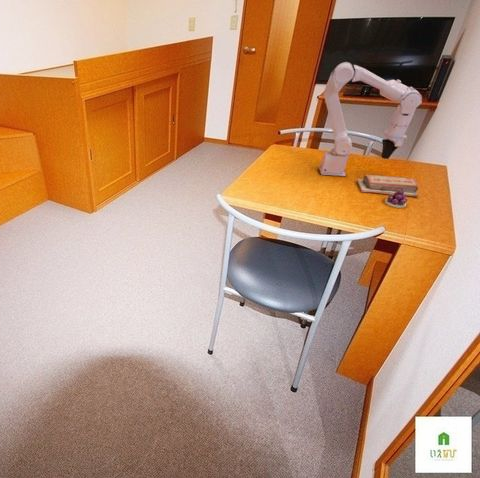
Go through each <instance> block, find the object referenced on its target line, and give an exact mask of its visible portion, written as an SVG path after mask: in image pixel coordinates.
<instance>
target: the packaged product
mask: <svg viewBox="0 0 480 478" xmlns="http://www.w3.org/2000/svg"><path fill="white" fill-rule="evenodd" d="M356 183H357V184H358V187H359V189H360V191H361V193H373V194H383V195H389V196H390V195H394V193H395V192H397V191H399V190H401V189H402V187H404V188H403V191H404V197H415V198H416V197H418V196H419V194H418V190H419V185H418V182H417V181H416V179H415V178H413V177H402V176H389V175H377V174H365V175H364V176H363V178H357V182H356Z"/></svg>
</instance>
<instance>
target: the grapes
mask: <svg viewBox="0 0 480 478" xmlns="http://www.w3.org/2000/svg"><path fill="white" fill-rule="evenodd" d="M403 188H404V187H402V189H401V190H399V191H397V192H395V193H394V195H390V194H389V196H388V197H387V198H385V200H384V204H385V205H386V206H389V207H392V208H395V209H402V208H406V207H407V205H408V204H407V202H408V198H407V197H406V196H404V191H403Z"/></svg>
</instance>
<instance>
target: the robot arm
mask: <svg viewBox="0 0 480 478" xmlns="http://www.w3.org/2000/svg"><path fill="white" fill-rule="evenodd" d="M350 81H351V83H354V82H362V83H365V84H367V85H369V86H371V87H374V88H376V89H378V90H379V95H380V96H382V97H384V98H385V99H388V100H390V101H392V102H394V103H395V104H397V103H398V105H397V108H396V110H395V112H394V113H393V116H392V118H391V121H390V123H389V126H388V127H387V128H388V129H386V130H385V132H384V134H383V135H384V136H383V137H384V138H383V139H382V140H381V142H382V150H381V159H382V160H383V159H384V160H385V159H386V160H388V159H389V158H390V157H391V156H392V155H393V154H394V152H395V151H396V150H397V149H398V148H402V146H403V144H404V140H405V139H407V138H408V136H407V135H406V132H407V131H408V128H409V126H410V123H411V121H412V119H413V117H414V115H415V112H416V109H417V108H419V106H420V105H421V104H422V102H423V96H422V94H421V93H420V92H419V91H418V90H417V89H416V88H414V87H413V86H407V85H405V84H403V83H402V81H401V80H400V79H396V80H395V79H390V80H386V79H384V78H382V77H380V76H378V75H376V74H375V73H373V72H371V71H369V70H368V69H366V68H364V67H362V66H360V65H357V64H352V63H351V62H348V61H344V62H341V63H338V65H336V67H334V69H333V70H332V72H331V73H330V75H329V78H328V81H327V83H326V85H325V87H324V90H323V97H324V101H325V105H326V109H327V113H328V117H329V122H330V125H331V129H332V134H333V140H334V141H333V148H332V149H331V150H330V151H325V152H324V153H323V154H322V157H321V160H320V164H319V167H318V169H319V173H320V175H322V176H335V177H346V176H347V174H346V172H345V169H346V167H347V164H348V161H349V158H350V156H351V152H352V150H353V143H352V142H353V140H352V137H351V136H350V135H349V134H348V129H347V127H346V122H345V118H344V114H343V110H342V105H341V101H340V97H339V92H340V91H341V90H342V88H343V87H344V86H346V84H348V83H349V82H350Z"/></svg>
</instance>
